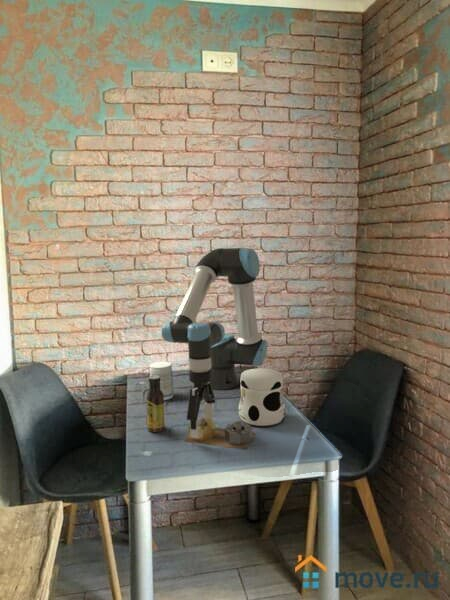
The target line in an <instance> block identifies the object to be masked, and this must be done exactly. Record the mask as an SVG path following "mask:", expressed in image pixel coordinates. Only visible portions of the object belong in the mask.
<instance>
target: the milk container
mask: <svg viewBox="0 0 450 600" xmlns="http://www.w3.org/2000/svg"><path fill="white" fill-rule="evenodd" d="M239 378H240V379H239V384H240V399H239V402H238V415H239V418H240V420H241V422H242V423H246V424H248V425H250V426H251V427H258V428H268V427H273V426H276V425H279V424H280V423H282V421H283V420H284V419H285V417H286V416H285V415H286V404H285V401H284V400H285V399H284V394H283V393H284V384H283V383H284V378H283V373H282V372H281V371H279V370H277V369H272V368H265V367H264V368H262V367H261V368H258V367H257V368H250V369H246V370H244V371H242V372H241V374H240V377H239Z"/></svg>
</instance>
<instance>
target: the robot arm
mask: <svg viewBox="0 0 450 600" xmlns="http://www.w3.org/2000/svg"><path fill="white" fill-rule="evenodd" d="M260 265H261V264H260V260H259V255H258V253H257V252H256V251H255V249H253V248H246V247H236V248H235V247H233V248H231V247H230V248H229V247H227V248H223V247H222V248H221V247H219V248H215V249H212V250H211V251H209V252H208V253H206V254H205V255H204V256H203V257H202V258H201V259H199V261H198V262H197V264H196V265H195V267H194V270H193V277H192V280H191V282H190V284H189V286H188V288H187V290H186V292H185V294H184V297H183V299H182V301H181V303H180V305H179V307H178V308H177V312H176V313H175V315H174V317H173V319H172V321H171V320H169V321H165V322H164V323H163V324H162V326H161V337H162V338H163V339H162V340H163V341H165V342H167V343H173V344H176V343H178V344H188V359H187V362H188V367H189V368H188V369H189V370H188V375H189V378H188V379H189V382H191V383H192V384H193V388H190V389H189V400H188V406H187V407H188V408H187V415H186V420H187V421H189V424H190V433H191V438H199V418H198V416H199V413H200V407H201V402H202V401H203V400H204V402H205V403H204V418H205V419H210V420H212V421H213V422H214V414H213V411H214V409H213V404H215V403H216V400H215V398H216V397H215V393H214V390H217V391H219V390H221V391H222V390H224V391H225V390H231V389H235V388H237V387H238V386H239V384H240V379H239V376H238V374H237V371H236V367H235V366H236V365H242V366H244V365H245V366H252V367H254V366H256V367H261V366H262V365H264V363H265V360H266V356H267V353H268V342H267V340H265V339H263V335H262V333H260V332H259V330H258V321H257V311H256V310H257V309H256V301H255V300H256V299H255V291H254V282H256V279H257V277H258V276H259V274H260ZM219 277H227V280H228V283H229V285H231V286H232V293H233V300H234V308H235V309H234V310H235V317H236V327H237V335H236V336H235V335H234V334H233V333H226V332H225V331H226V330H225V327H224V326H223V324H222V323H220V322H217V321H209V323H207V322H195V321H196V319H197V317H198V314H199V312H200V310H201V308H202V305H203V303H204V300H205V298H206V296H207V294H208V292H209V290H210V287H211V284H213V283H214V282H216V280H217V278H219Z"/></svg>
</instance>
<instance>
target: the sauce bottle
mask: <svg viewBox="0 0 450 600" xmlns="http://www.w3.org/2000/svg"><path fill="white" fill-rule="evenodd" d="M148 382H149V383H148V384H149V386H148V387H149V388H148V392H147V396H146V401H145V402H146V422H147V424H146V426H147V430H148V431H149V432H151V433H158V432H159V433H160V432H162V431H163V430H165V425H166V424H165V400H164V395H163V392H162V391H161V389H160V376H158V375H153V376H150V375H149V377H148Z"/></svg>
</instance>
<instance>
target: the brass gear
mask: <svg viewBox="0 0 450 600" xmlns="http://www.w3.org/2000/svg"><path fill="white" fill-rule="evenodd" d="M187 429H188V436H189V437H190V438H191V433H190V423H188V428H187ZM216 429H217V428H216V422H215V421H214V420H213V421H212V420H210V419H205V426H203V427H201V426H199V438H191V439H192V440H198V441H205V440H209V439H213V437H214V436H215V435H216Z"/></svg>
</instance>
